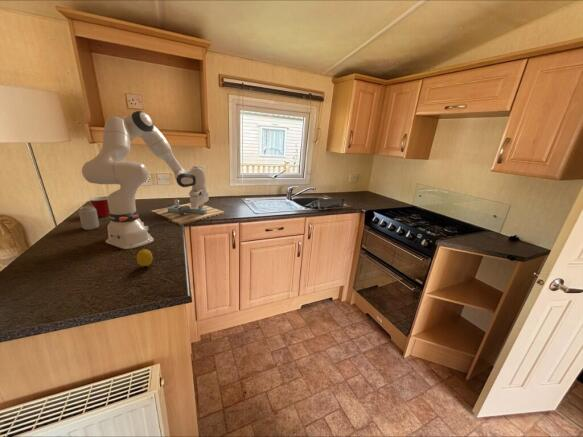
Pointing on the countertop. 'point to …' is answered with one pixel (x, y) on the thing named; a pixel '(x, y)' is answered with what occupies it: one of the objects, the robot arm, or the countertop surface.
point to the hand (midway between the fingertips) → (200, 210)
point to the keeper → (183, 209)
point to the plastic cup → (101, 206)
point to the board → (188, 214)
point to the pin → (177, 203)
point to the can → (88, 217)
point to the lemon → (144, 257)
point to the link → (191, 210)
